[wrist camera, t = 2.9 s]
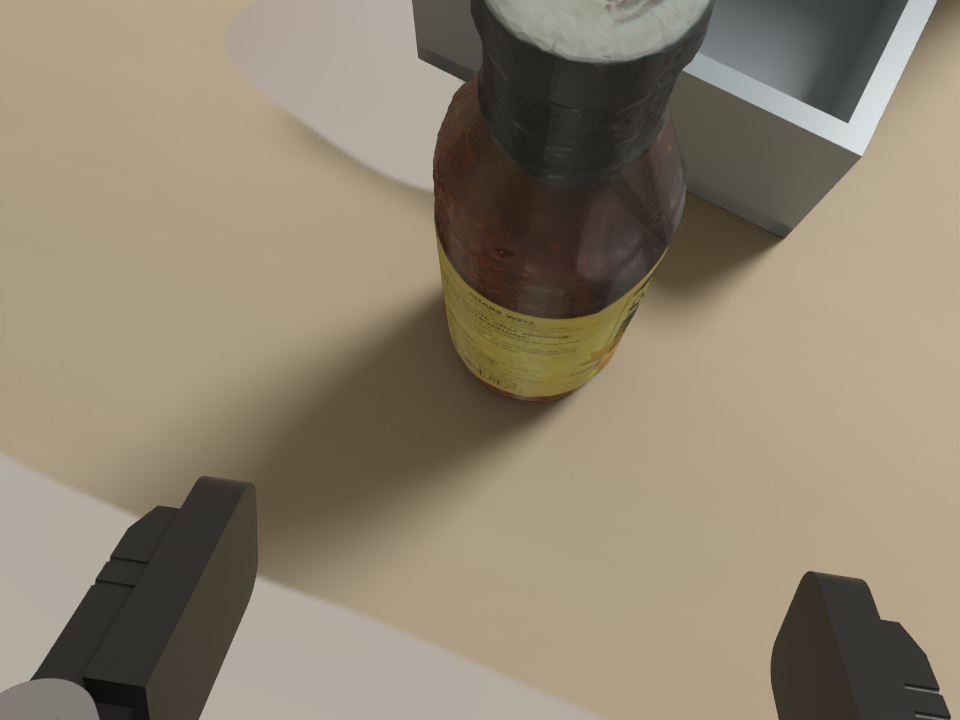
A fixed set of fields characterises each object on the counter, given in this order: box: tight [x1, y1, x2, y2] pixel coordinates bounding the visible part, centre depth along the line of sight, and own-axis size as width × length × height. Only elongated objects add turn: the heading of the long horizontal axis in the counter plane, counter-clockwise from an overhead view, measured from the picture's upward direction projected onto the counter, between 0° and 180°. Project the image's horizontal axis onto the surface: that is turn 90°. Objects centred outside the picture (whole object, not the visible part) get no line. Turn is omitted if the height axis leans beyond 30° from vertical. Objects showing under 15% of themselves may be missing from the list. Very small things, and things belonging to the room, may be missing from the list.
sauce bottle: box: [433, 0, 716, 402], centre depth 24 cm, size 7×6×20 cm
